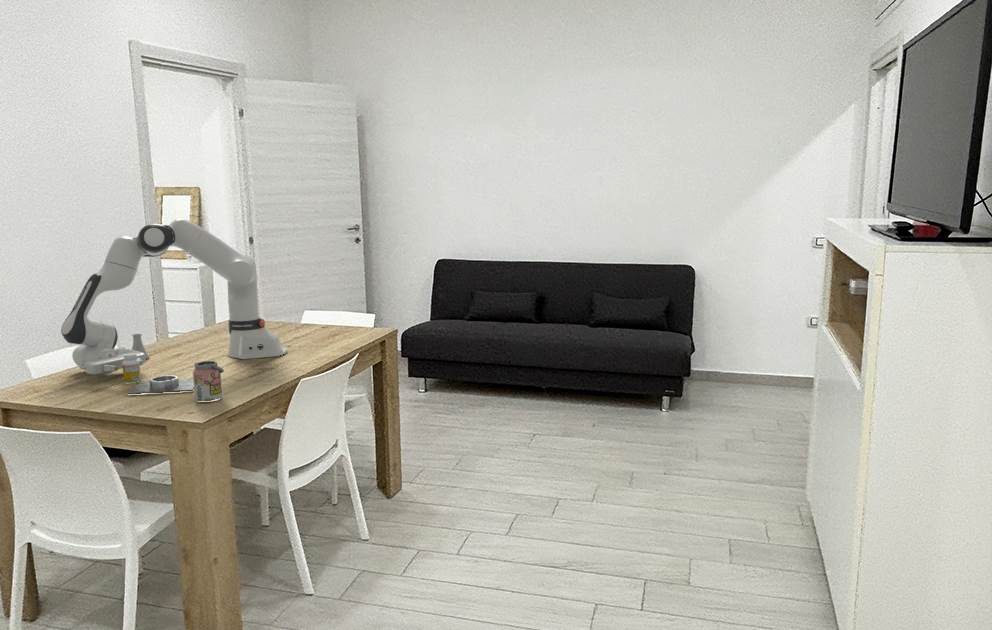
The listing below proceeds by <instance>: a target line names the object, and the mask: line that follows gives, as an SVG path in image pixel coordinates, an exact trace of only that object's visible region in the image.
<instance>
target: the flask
mask: <svg viewBox="0 0 992 630" xmlns="http://www.w3.org/2000/svg"><path fill="white" fill-rule="evenodd" d="M142 335H143V334H142V333H133V334H132V338H133V339H132V341H133V342H132V347H131V350H134V351H139V352H142V353H144V354H145V358H146V359H147V360H149V359H150V358H151V357H150V356H149V354H148V351H147V350H146V348H145V345H144V344H143V340H142ZM148 358H149V359H148Z"/></svg>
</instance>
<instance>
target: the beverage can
mask: <svg viewBox="0 0 992 630" xmlns="http://www.w3.org/2000/svg"><path fill="white" fill-rule="evenodd" d="M223 373H224V369H223V368H222V367H220V366H218V362H217V361H215V360H205V361H198V362H194V370H193V371H192V379H193V380H194V391H193V393H194V400H195V401H196V400H197V401H211V400H215V399H219V398H221V397H222V398H223V390H222V378H221V374H223ZM222 398H221V399H222ZM197 401H196V402H197Z"/></svg>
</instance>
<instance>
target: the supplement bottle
mask: <svg viewBox="0 0 992 630" xmlns="http://www.w3.org/2000/svg"><path fill="white" fill-rule="evenodd" d="M136 358H137V355H136V353H129V354H125V355H124V359H125V361H123V362H122V367H123V368H122V375H123V383H124V382H125V383H124V384H127V383H130V384H133V383H132V382H137V383H138V381H140V380H141V381H142V376H141V365H140V364H139V360H137V359H136ZM141 381H140V382H141Z"/></svg>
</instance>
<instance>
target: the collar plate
mask: <svg viewBox="0 0 992 630" xmlns="http://www.w3.org/2000/svg"><path fill="white" fill-rule="evenodd" d="M193 389H194V380H193V378H189V379H180V378H179V376H177V375H173V374H168V375H167V374H165V375H158V376H154V377H152V378H149V381H140V382H137V383H135V384H134V385H133V386H132V388H130V389H129V391H128V392H127V393H126V394H127V395H128V394H141V393H163V392H180V391H193ZM193 392H194V391H193Z"/></svg>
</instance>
